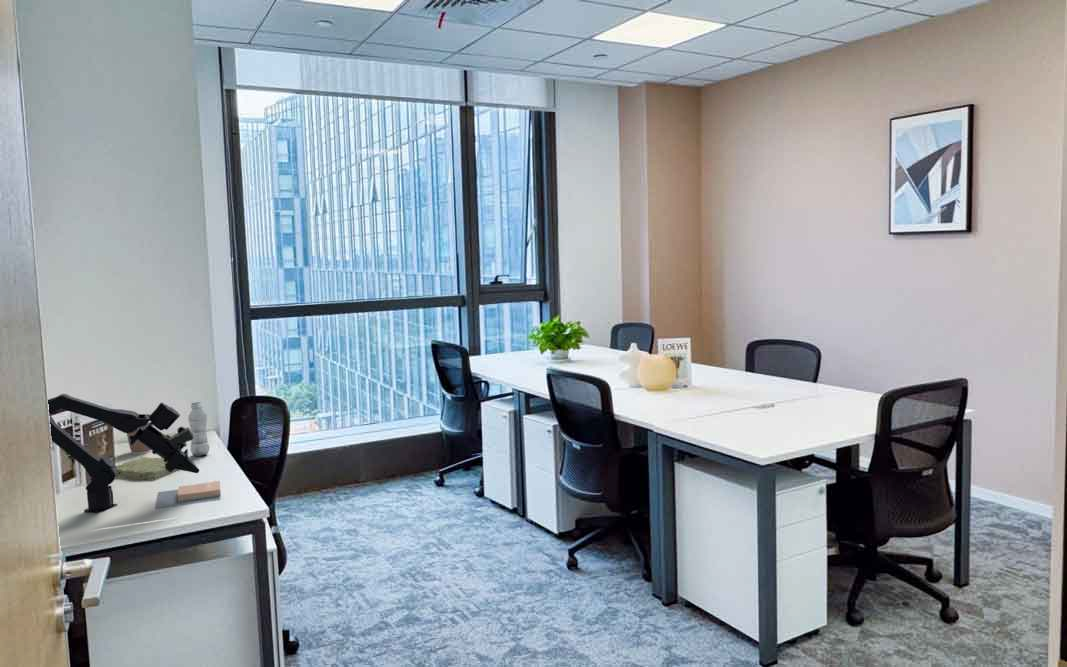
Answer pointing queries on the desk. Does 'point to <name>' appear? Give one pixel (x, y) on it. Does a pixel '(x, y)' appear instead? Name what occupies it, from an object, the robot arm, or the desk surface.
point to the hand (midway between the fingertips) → (198, 471)
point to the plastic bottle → (198, 430)
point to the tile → (199, 491)
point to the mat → (172, 499)
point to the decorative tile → (143, 469)
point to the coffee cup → (138, 443)
